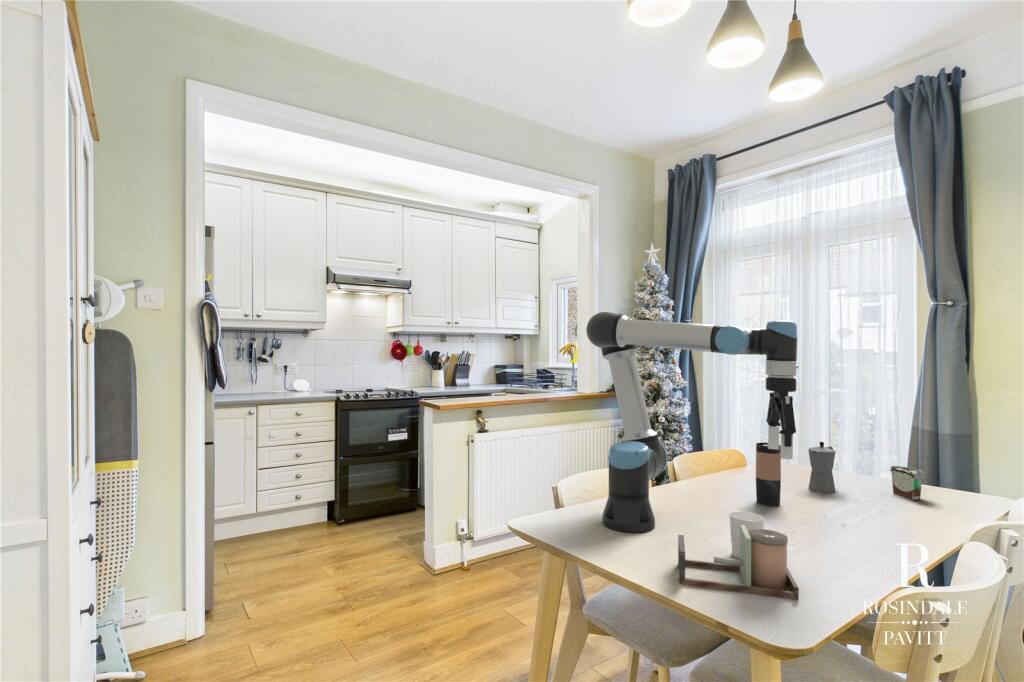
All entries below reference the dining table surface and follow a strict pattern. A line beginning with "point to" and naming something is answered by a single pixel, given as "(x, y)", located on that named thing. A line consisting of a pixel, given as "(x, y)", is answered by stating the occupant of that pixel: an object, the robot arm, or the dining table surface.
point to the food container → (907, 482)
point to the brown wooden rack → (727, 586)
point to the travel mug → (768, 475)
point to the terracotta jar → (768, 559)
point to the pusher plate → (741, 556)
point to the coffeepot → (822, 469)
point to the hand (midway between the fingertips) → (779, 453)
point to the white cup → (745, 519)
